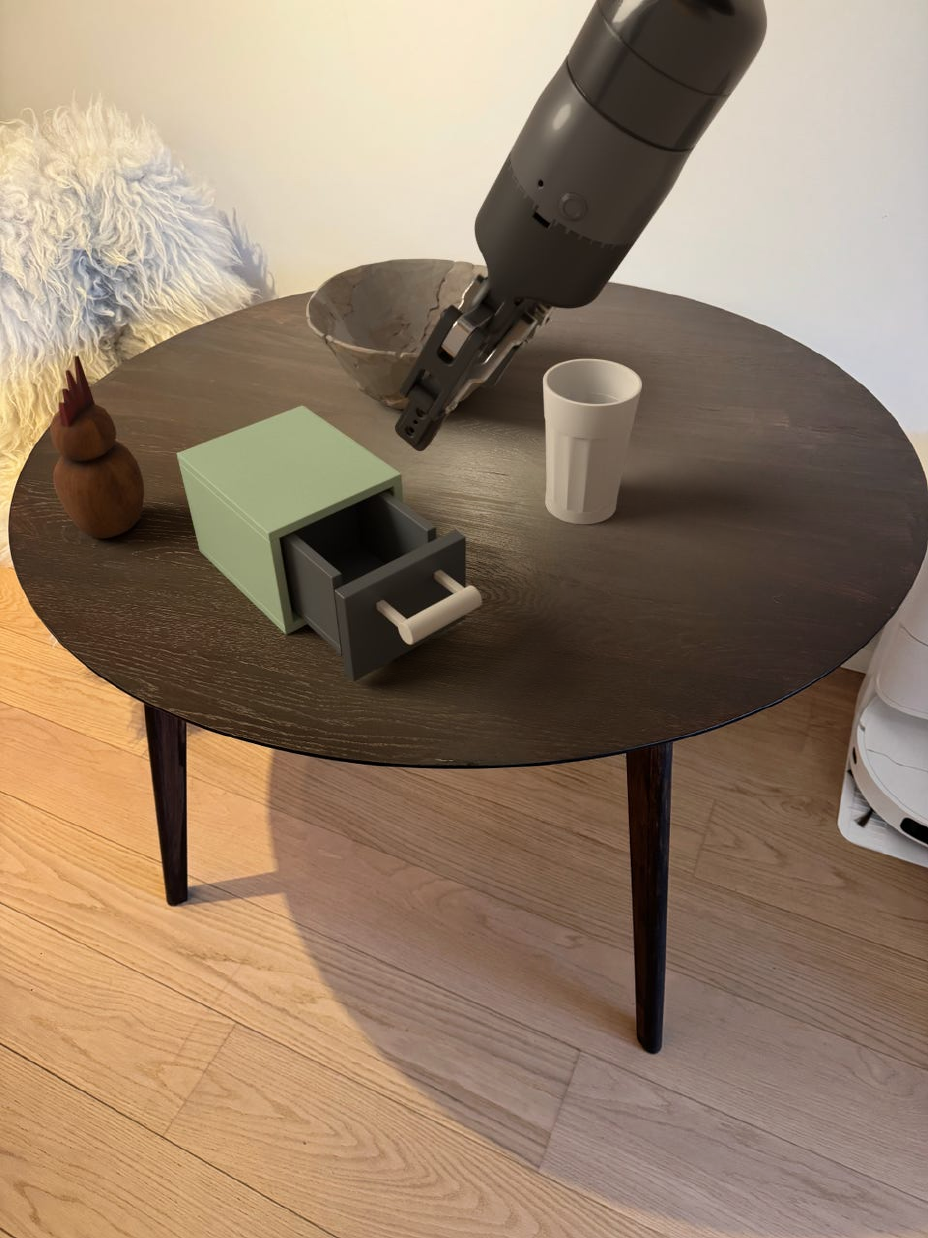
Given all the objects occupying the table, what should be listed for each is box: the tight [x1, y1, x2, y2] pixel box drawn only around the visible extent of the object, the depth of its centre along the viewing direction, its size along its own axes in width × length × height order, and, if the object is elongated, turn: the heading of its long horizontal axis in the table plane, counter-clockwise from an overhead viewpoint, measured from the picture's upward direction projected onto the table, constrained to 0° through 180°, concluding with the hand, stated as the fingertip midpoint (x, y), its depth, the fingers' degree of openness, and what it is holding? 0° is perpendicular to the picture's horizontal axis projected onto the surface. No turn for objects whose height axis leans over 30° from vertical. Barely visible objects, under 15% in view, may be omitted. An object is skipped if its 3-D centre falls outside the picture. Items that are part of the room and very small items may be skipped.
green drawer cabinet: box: [176, 405, 404, 636], centre depth 75 cm, size 14×12×10 cm
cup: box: [542, 358, 643, 525], centre depth 80 cm, size 8×8×12 cm
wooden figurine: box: [49, 355, 145, 539], centre depth 77 cm, size 7×6×15 cm
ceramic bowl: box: [305, 258, 488, 410], centre depth 96 cm, size 22×23×10 cm
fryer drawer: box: [279, 490, 483, 682], centre depth 68 cm, size 17×10×8 cm, turn 40°
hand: (445, 408), depth 58 cm, fingers open, 8 cm apart
